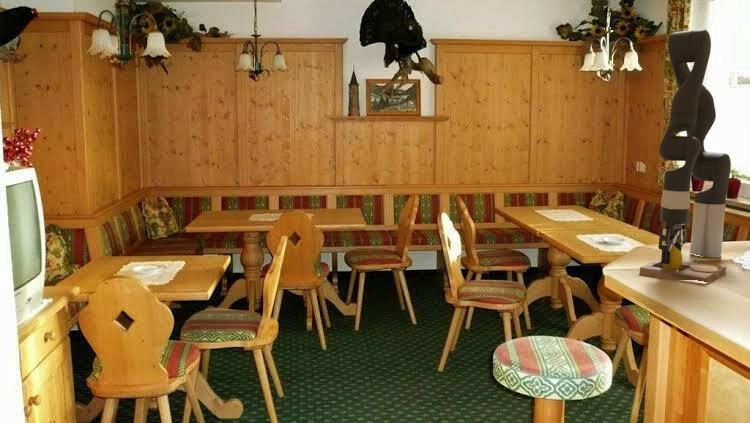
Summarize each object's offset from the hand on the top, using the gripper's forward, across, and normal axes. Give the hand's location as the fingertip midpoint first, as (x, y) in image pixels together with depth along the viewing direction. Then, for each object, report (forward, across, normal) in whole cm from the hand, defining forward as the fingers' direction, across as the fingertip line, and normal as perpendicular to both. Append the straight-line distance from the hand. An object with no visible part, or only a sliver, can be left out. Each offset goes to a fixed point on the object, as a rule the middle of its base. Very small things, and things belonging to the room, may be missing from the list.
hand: (670, 261), depth 215 cm
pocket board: (+3, -1, +3) cm, 5 cm away
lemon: (+4, 0, 0) cm, 4 cm away
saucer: (+1, -2, +8) cm, 9 cm away
